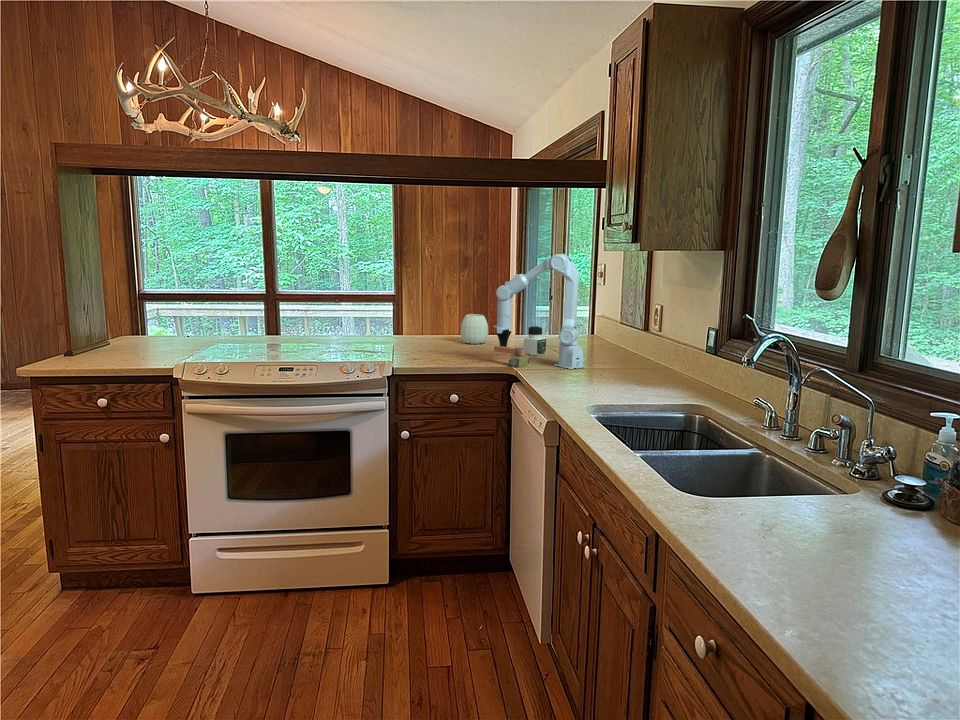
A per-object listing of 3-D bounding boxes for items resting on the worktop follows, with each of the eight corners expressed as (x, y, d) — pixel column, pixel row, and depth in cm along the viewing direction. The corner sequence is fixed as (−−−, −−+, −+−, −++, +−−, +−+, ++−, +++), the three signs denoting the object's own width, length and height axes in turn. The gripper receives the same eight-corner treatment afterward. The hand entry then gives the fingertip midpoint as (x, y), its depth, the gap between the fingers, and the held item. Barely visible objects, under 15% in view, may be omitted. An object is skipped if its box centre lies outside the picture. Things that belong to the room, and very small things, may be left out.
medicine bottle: (537, 355, 292) (537, 328, 290) (523, 354, 297) (524, 326, 294) (546, 353, 298) (546, 326, 296) (532, 352, 302) (532, 325, 300)
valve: (531, 366, 268) (531, 355, 267) (515, 368, 264) (515, 357, 263) (521, 363, 273) (522, 353, 272) (506, 365, 268) (506, 355, 268)
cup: (454, 343, 324) (455, 315, 322) (471, 340, 335) (472, 313, 332) (476, 346, 317) (477, 317, 314) (493, 343, 327) (494, 315, 325)
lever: (525, 354, 267) (525, 348, 267) (520, 355, 265) (520, 349, 265) (498, 350, 277) (498, 344, 276) (493, 351, 274) (493, 345, 274)
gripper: (499, 312, 281) (498, 345, 283) (489, 316, 267) (488, 350, 270) (515, 313, 279) (514, 346, 282) (507, 317, 265) (506, 352, 268)
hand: (503, 348), depth 276 cm, fingers closed, pressing on lever
